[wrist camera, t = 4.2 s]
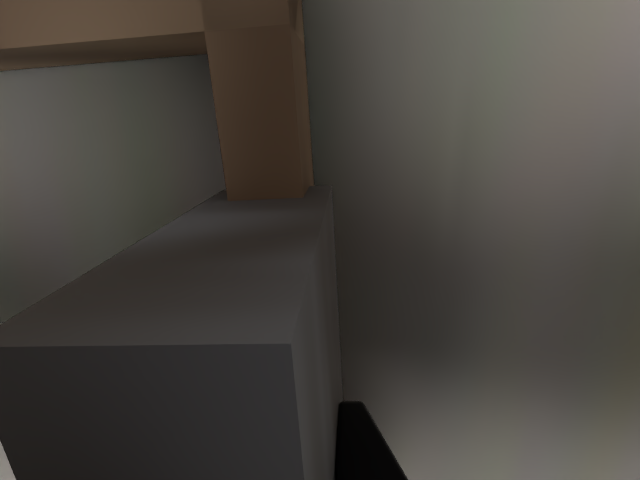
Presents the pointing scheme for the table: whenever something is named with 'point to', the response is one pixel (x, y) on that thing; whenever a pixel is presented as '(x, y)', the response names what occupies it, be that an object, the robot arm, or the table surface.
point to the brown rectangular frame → (188, 275)
